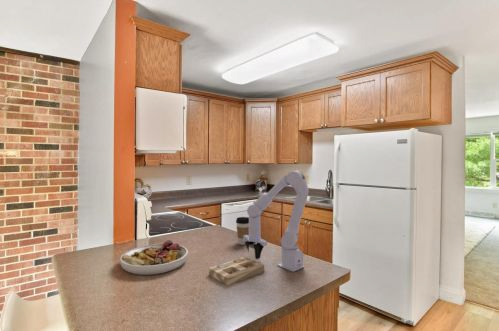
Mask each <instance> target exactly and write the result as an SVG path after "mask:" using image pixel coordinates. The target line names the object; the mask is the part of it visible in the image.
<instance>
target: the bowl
mask: <svg viewBox="0 0 499 331" xmlns="http://www.w3.org/2000/svg"><path fill="white" fill-rule="evenodd" d="M188 256H189V250H188V249H187V248H186V247H185V246H183V245H180V244H178V243H174V242H173V241H172V240H171V239H167V240H165V241H164V242H163V243H156V244H155V243H154V244H149V245H147V244H146V245H142V246H139V247H135V248H133V249H132V248H131V249H129V250H128V251H127V250H126V251H125V252H124V253H123V254H121V256H120V258H119V263H120V266H121V268H123V270H124V271H126V272H128V273H130V274H133V275H139V276H140V275H142V276H150V275H159V274H164V273H167V272H171V271H174V270H176V269H178V268H179V267H181V266H182V265H183V264H184V263H185V262H186V261H187V258H188Z"/></svg>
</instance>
